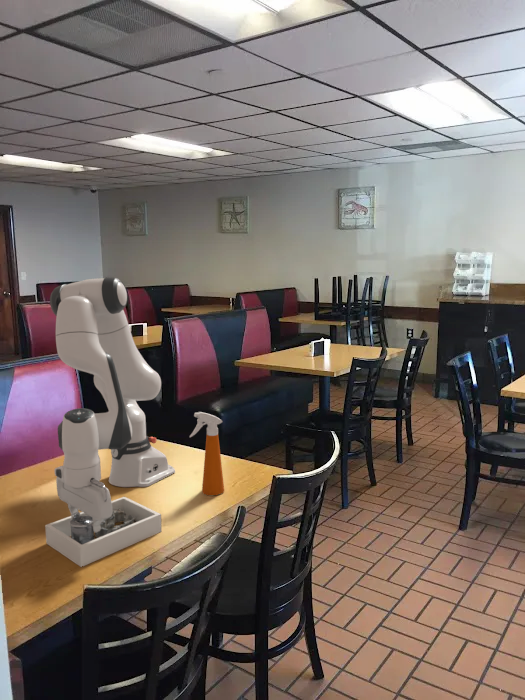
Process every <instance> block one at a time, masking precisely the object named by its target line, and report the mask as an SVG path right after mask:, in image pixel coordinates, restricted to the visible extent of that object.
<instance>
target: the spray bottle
mask: <svg viewBox="0 0 525 700" xmlns="http://www.w3.org/2000/svg"><path fill="white" fill-rule="evenodd" d="M193 417H194V418H197V420H196V421H197V424H196V426H195V427H194V429H193V431H192V432H191V434H190V435H189V438H192V437H194V436H195V435H196V434H197V433H198V432H199V431H200V430H201V429H202V428H203V426H205V425H207V427H206V439H205V440H206V441H205V451H204V462H203V465H204V466H203V476H202V487H201V492H202V494H204V495H205V494H206V495H205V496H209V495H216V496H219V495H218V494H220V495H222V494H223V493H224V492H225V485H224V483H225V482H224V475H223V474H224V473H223V466H222V457H221V456H222V455H221V449H220V448H221V447H220V440H219V428H218V425H220V424H222V423H223V420H222V419H220V418H219V417H217V416H216V415H213V414H210V413H206V412H202V411H198V412H194V414H193ZM221 493H222V494H221Z"/></svg>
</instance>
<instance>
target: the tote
mask: <svg viewBox="0 0 525 700" xmlns="http://www.w3.org/2000/svg"><path fill="white" fill-rule="evenodd" d="M111 503H112V512H113V511H115V510H116V509H117V510H118V509H119V508H120V509H119V510H121V511H124V512H125V514H126V516H128V517H129V515H131V516H132V517H133V516H134V517H135V519H134V523H133V524H131V525H128V526H126V527H124V528H121V529H119V530H116V531H114V532H111V533H109V534H107V535H104V536H100V537H96V538H94V540H92V541H89V542H87V543H85V544H82V545H81V544H80V543H78V542H77V541H75V540H74V539H72V538H71V526H70V521H71V520H72V519H71V515H70V516H67V517H64V518H61V519H59V520H56V521H54V522H50V523H47V524H45V525H44V528H45V529H44V530H45V539H46V540H45V541H46V542H45V543H46V545H48V546H50V547H51V548H52V549H54V550H55V551H57V552H58V553H60V554H61V555H63V556H64V557H66V559H69V560H70V561H72V562H73V563H74V564H76V565H78V566H79V567H80V568H83V567H85V566H87V565H89V564H91V563H93V562H94V563H95V561H98V560H101V559H103V558H105V557H107V556H109V555H112V554H114V553H116V552H119V551H120V550H123V549H125V548H128V547H130V546H132V545H134V544H136V543H140V541H144V540H145V539H148V538H150V537H152V536H154V535H156V534H159V533H161V532H162V514H161V513H159V512H157V511H155V510H153V509H152V508H149V507H148V506H145V505H143V504H142V503H141V504H140V503H138V502H137V501H135V500H133V499H131V498H129V497H126V496H122V497H119V498H116V499H113V500H111ZM79 513H80V516H84V515H87V516H89V515H88V514H86V513H84V512H82V511H79ZM82 566H83V567H82Z"/></svg>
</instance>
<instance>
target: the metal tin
mask: <svg viewBox="0 0 525 700" xmlns="http://www.w3.org/2000/svg"><path fill="white" fill-rule="evenodd" d="M93 523H94V520H93V518H92V517H91V516H87V515H84V516H78V517H75V518H73V519H72V520H71V521H70V526H71V536H70V538H72V539H74V540H75V541H77V542H78V543H80V544H81V545H82V544H85V543H87V542H89V541H92V540H94V539H95V532H93V531H92V530H91V525H92V524H93Z"/></svg>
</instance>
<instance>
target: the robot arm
mask: <svg viewBox="0 0 525 700" xmlns="http://www.w3.org/2000/svg"><path fill="white" fill-rule="evenodd" d="M49 303H50V304H49V305H50V307H51V308H50V309H51V311H52V313H53V314H54V315H55V316H56V317H55V318H56V319H55V344H56V351H57V356H58V358H59V359H60V360H61V362H62V363H64V364H65V365H66V366H67V367H70V368H72V369H74V370H78V371H80V372H84V373H88V374H90V375H93V383H94V386H95V388H96V389H97V390H98V391H99V393H100V394H101V396H102V398H103V399H104V401H105V404H106V407H107V409H108V411H106V412H99V413H95V412H94V411H93V410H92V409H90V408H78V407H77V408H73V409H70V410H69V411H67V412H65V413H64V414H63V417H62V420H61V422H60V423H59V424H58V426H57V437H58V448H60V450H62V451H63V455H64V456H63V457H64V459H63V465H60V466H57V467H55V468H54V470H53V471H54V476H56V479H55V481H56V483H55V484H56V491H57V492H56V493H57V496H58V498H59V500H60V501H62V502H64V503H65V504H67V507H68V510H69V512H70V516H71V519H73V518H75V517H78V516H80V512H84V513H86V514H88V515H89V516H91V517H92V518H93V520H94V523H93V524H92V525H91V530H92V531H93V532H94V534H95V533H96V532H99V531H100V530H101V526H100V524H101V522H102V520H105V519H107V518H109V517H111V515H112V503H111V501H112V498H111V494H110V493H111V492H110V490H109V488H108V487H106V486H105V483H104V482H102V481H101V479H102V470H101V457H100V455H99V450H110V453H111V465H110V466H111V468H110V473H109V478H108V482H109V484H111V485H112V486H116V487H120V488H121V487H122V488H131V487H133V488H134V487H142V488H146V487H149V486H151V485H153V484H155V483H157V482H159V480H160V481H162V480H163V478H164V479H165V477H166V478H167V476H168V477H169V475H170V476H172V475H174V474H175V473H176V469H175V467H173V466H172V465H170V464H169V461H168V458H167V456H166V454H164V453H163V452H162V451H160V450H158V448H155V447H154V446H152V445H151V443H152V444H156V443H157V437H155V436H154V437H153V436H148V435H147V422H146V414H145V412H144V411H143V410H142V408H140V406H139V404H138V403H137V402H138V401H151V400H154V399H155V398H156V397H157V396H158V395H159V393H160V391H161V388H162V379H161V376H160V375H159V373H158V372H157V371H156V370H154V369H153V368H152V367H151V366H150V365H149V364H148V363H147V361H146V360H145V359H144V357H143V355H142V354H141V353H140V351H139V349H138V348H137V345H136V343H135V340H134V338H133V334H132V332H131V327H130V326H129V321H128V318H127V315H126V313H125V311H124V309H125V308H126V306H127V304H128V293H127V289H126V287H125V284H124V283H123V281H122V280H120V279H119V278H118V277H111V276H107V277H106V276H105V277H104V278H103V277H102V278H100V277H99V278H89V279H84V280H80V281H75V282H71V283H64V284H61V285H59V286H56V287H55V288H54V289H53V290H52V292H51V293H50V297H49ZM173 473H174V474H173ZM171 474H172V475H171Z"/></svg>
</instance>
